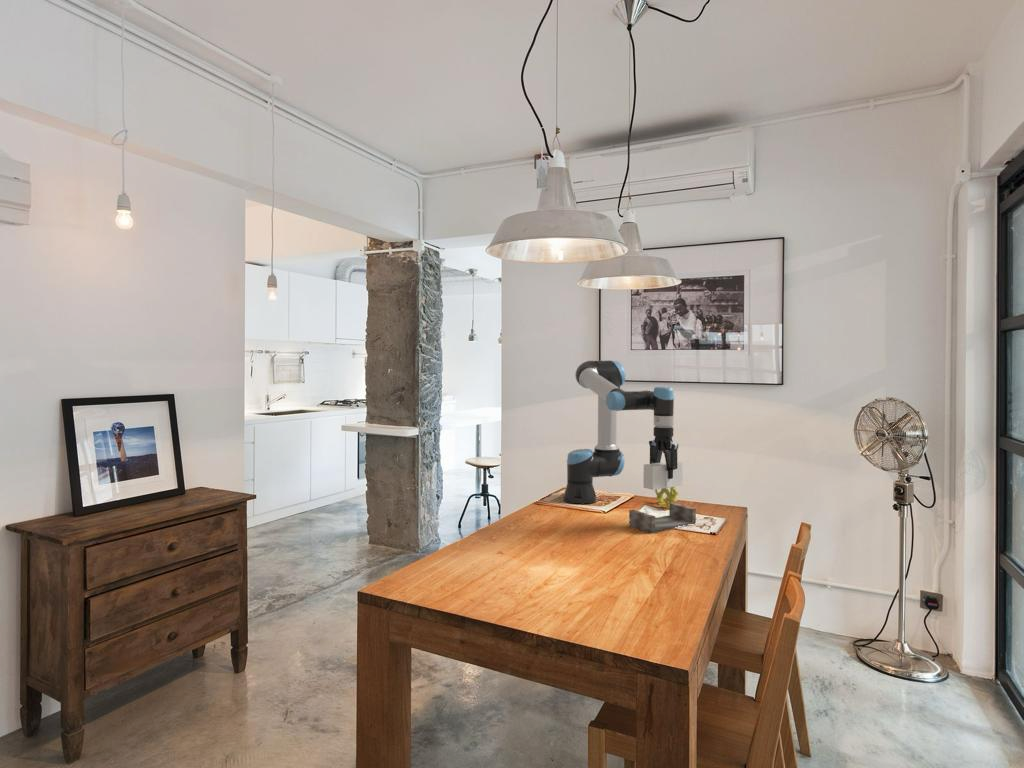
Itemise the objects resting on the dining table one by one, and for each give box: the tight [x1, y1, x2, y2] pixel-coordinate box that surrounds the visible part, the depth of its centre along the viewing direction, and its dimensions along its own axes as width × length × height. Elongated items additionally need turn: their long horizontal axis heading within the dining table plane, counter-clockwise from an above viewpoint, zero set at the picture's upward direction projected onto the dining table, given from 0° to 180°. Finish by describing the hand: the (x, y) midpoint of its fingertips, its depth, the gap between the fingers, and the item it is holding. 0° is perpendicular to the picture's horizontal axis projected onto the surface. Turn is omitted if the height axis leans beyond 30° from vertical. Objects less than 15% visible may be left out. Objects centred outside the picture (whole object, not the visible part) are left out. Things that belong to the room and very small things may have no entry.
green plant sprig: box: [654, 487, 679, 510], centre depth 266 cm, size 18×5×10 cm, turn 19°
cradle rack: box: [628, 502, 697, 534], centre depth 235 cm, size 12×24×6 cm, turn 122°
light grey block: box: [642, 461, 684, 491], centre depth 234 cm, size 5×16×9 cm, turn 121°
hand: (663, 485), depth 234 cm, fingers closed on light grey block, 5 cm apart
